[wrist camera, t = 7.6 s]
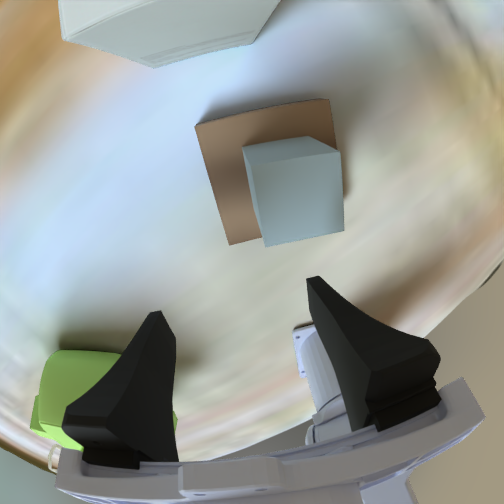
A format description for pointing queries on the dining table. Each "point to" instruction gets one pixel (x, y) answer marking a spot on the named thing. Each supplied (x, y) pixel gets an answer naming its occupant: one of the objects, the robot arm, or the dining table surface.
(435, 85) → the dining table surface
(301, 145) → the pale grey block
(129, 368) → the robot arm
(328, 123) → the walnut slab
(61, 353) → the teapot
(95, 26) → the supplement box
